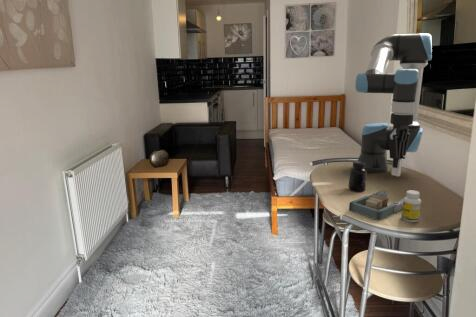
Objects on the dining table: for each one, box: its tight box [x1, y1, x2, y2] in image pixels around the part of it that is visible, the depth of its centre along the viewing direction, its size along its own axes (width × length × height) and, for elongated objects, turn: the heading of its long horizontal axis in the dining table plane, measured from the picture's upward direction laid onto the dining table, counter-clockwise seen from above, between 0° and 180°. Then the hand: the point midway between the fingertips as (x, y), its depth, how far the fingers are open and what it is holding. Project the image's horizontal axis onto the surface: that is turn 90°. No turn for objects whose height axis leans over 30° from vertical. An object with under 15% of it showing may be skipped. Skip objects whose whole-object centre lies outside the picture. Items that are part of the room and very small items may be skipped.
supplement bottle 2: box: [401, 189, 422, 223], centre depth 121 cm, size 5×5×10 cm
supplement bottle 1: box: [348, 160, 368, 193], centre depth 150 cm, size 7×7×12 cm
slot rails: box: [366, 189, 404, 215], centre depth 135 cm, size 14×12×2 cm
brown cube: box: [373, 195, 389, 209], centre depth 132 cm, size 4×4×4 cm
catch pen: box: [348, 195, 397, 221], centre depth 129 cm, size 11×12×3 cm
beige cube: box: [365, 198, 382, 210], centre depth 129 cm, size 4×4×4 cm
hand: (395, 175), depth 136 cm, fingers closed
